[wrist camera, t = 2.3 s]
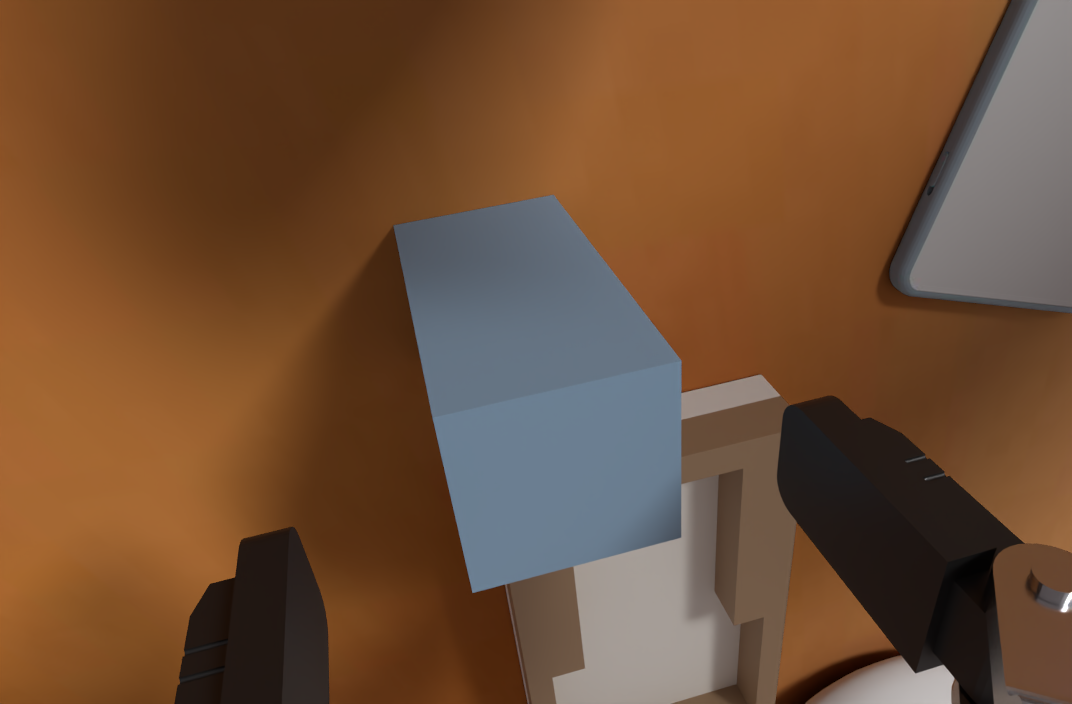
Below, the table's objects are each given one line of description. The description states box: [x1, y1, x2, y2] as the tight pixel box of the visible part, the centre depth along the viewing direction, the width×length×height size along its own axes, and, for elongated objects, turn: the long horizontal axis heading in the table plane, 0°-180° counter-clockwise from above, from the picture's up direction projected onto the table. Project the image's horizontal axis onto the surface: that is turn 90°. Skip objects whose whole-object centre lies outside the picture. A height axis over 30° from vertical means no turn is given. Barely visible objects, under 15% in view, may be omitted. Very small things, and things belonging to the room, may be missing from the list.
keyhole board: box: [505, 375, 796, 704], centre depth 25 cm, size 9×15×3 cm, turn 6°
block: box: [393, 195, 681, 593], centre depth 16 cm, size 4×4×8 cm
